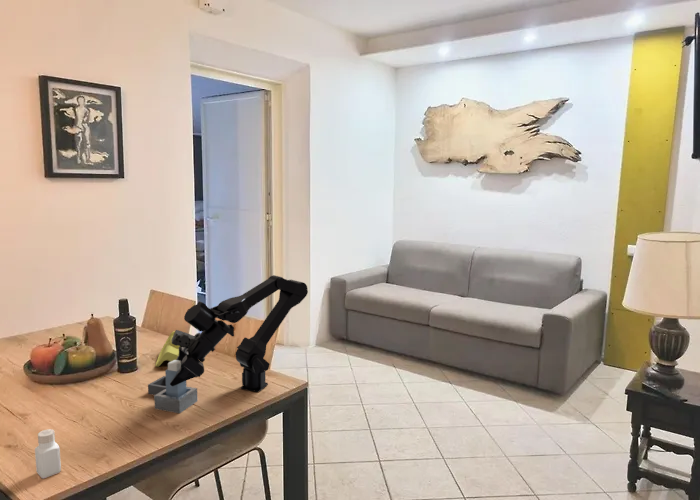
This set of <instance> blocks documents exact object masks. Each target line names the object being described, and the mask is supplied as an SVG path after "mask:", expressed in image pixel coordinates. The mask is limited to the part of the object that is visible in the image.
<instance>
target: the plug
mask: <svg viewBox="0 0 700 500" xmlns="http://www.w3.org/2000/svg"><path fill="white" fill-rule="evenodd" d="M180 368H181V361H179V360H173V361H168V363H167V369H165V373H164V374H165V376H166V395H167V396H172V397H180V396H182V395H183V394H185V393H186V392H187V388H186V387H187V380H186V381H184V382H182V383H179V384H177V385H175V386H171V385H170V383H171V381H172V380H173V378H174V377H175V375H176V374H177V373H178V371H179V370H180Z"/></svg>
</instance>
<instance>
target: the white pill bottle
mask: <svg viewBox="0 0 700 500" xmlns="http://www.w3.org/2000/svg"><path fill="white" fill-rule="evenodd" d="M55 437H56V433H55V430H54V429H52V428H51V429H50V428H48V429H43V430H42V431H41V430H40V432H39V433H37V442H38V445H37V446H36V447H34V456H35V468H36V469H35V470H36V473H37V474H38V475H39V477H40V478H41V479H47V478H48V477H52V476H54V475H56V474H59V473H60V472H61V470H62V467H61V450H60V446H59V444H58V443H57V442H56V441H55V440H56V438H55Z"/></svg>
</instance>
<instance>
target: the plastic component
mask: <svg viewBox="0 0 700 500" xmlns="http://www.w3.org/2000/svg"><path fill="white" fill-rule="evenodd" d="M175 331H176V330H174V331H171V333H170V334H169V336H168V337H167V338H166V341H165V343H164V344H163V346H162V348H161V350H160V352H159V354H158V357H157V358H156V359H157V360H156V362H155V365H154V366H155V367H160V366H161V365H162V364H163V363H164V362H165V361H168V362H171V361H173V360H176V359H177V357H178V355H179V347H180V346H178V345H177V346H176V345H173V344H172V341H171V340H172V337H173V335H174V333H175Z"/></svg>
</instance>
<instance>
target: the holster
mask: <svg viewBox="0 0 700 500" xmlns="http://www.w3.org/2000/svg"><path fill="white" fill-rule="evenodd" d="M165 389H166V375H162V377H159V378H157V379H155V380H154V381H152V382H150V383H148V384H147V394H148V395H151V396H154V395H156V394H158V393H159V392H161V391H163V390H165Z"/></svg>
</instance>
